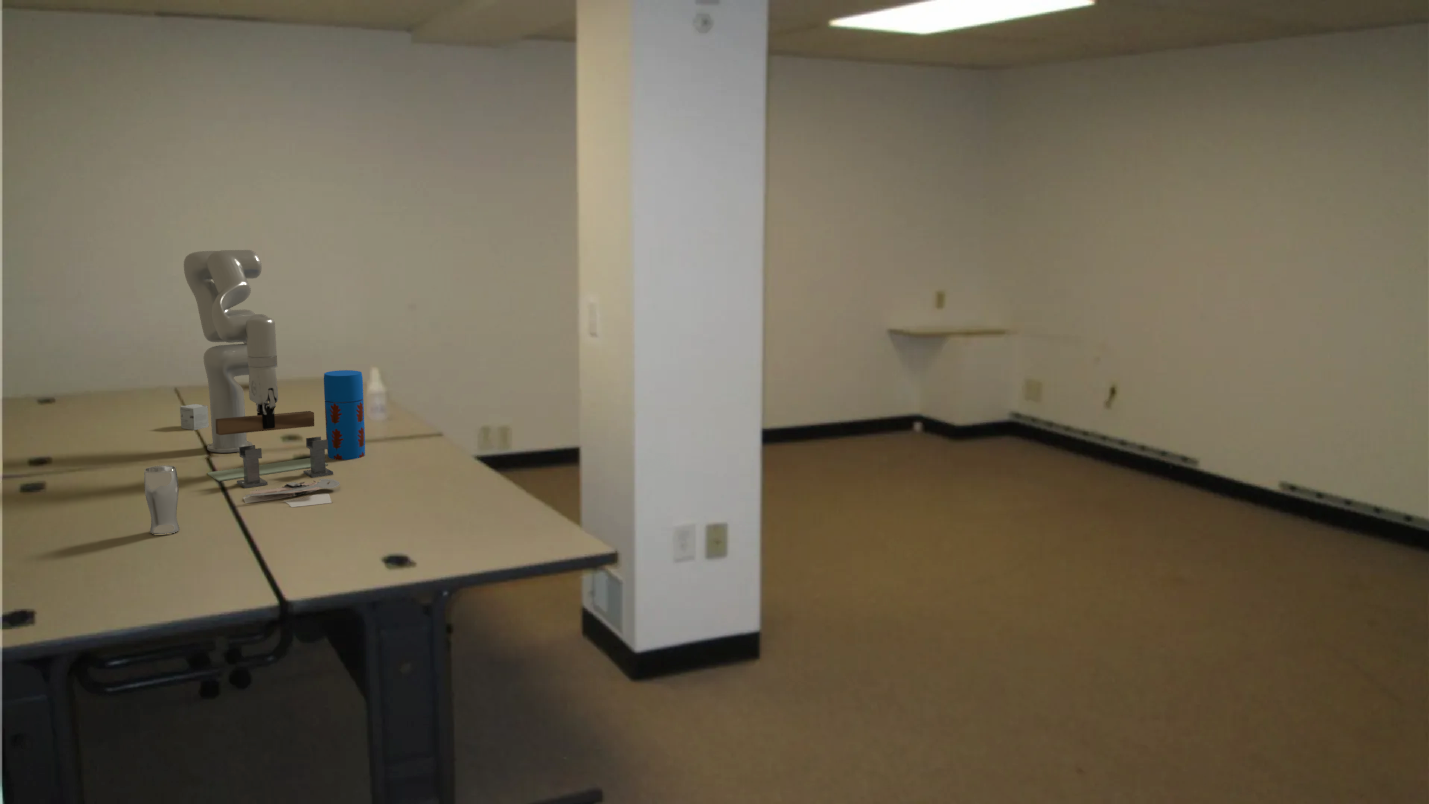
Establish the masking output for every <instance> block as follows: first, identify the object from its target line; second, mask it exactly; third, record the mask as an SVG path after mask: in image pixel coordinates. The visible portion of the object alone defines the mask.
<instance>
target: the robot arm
mask: <svg viewBox="0 0 1429 804" xmlns="http://www.w3.org/2000/svg"><path fill="white" fill-rule="evenodd" d="M183 273H184V276H185V280H186V283H187V284H188V287H189V288H190V291H191V292H192V295H193V296H194V298H195V301H196V304H197V309H198V314H199V319H200V325H201V327H202V328H201V329H202V332H203V335H204V337H205V339H206V340H207V341H209V342H212V343H229V344H222V345H221V344H220V345H215V346H211V347H209V348H208V349H207V350H205V352H204V353H203V364H204V368H205V373H206V379H207V383H208V384H207V385H208V395H209V396H208V397H209V407H210V408H209V409H210V422H211V424H210V425H211V437H212V439H211V441H212V443H209V444H208V445H207V448H206V449H207V451H208V452H210V453H211V452H212V453H217V454H218V453H221V454H222V453H223V454H224V453H225V454H226V453H227V454H229V453H239V447H243V446H251V445H253V442H251V441H250V440H247V433H237V434H226V435H218V434H216V419H220V418H232V417H244V416H246V408H245V406H246V405H245V393H244V389H243V386H242V385H241V384H240V383H239V382H238V381H237V380H236V379H235V377H239V376H248V396H249V397H248V399H249V400H250V401H251V402H253V403H255V406H256V415H262V423H263V429H269V428H275V417H274V414H276V412H275V408H276V406H277V403H278V401H279V392H278V381H277V372H276V368H278V353H277V338H276V335H277V334H276V323H275V320H274V319H273V318H272V317H268V315H266V314H263V313H261V314H260V313H255V312H254V311H252V310H250V309H231V308H234V307H235V306H237V305H241V303H244V302H245V301H246V300H247V299H248V298H249V297H250V295H251V293H252V292H251V291H252V288H251V286H250V283H249V281H248V280H249V279H257V278H258V277H260V276H261V274H262V261H261V259H260V257H259V255H258V254H257V253H256V252H255V251H253V250H252V249H224V250H223V249H221V250H202V251H201V250H200V251H194V252H192V253H189V254H187V255H186V256H185V258H184V261H183ZM212 280H213V281H212ZM234 343H235V344H234ZM237 343H238V344H237Z"/></svg>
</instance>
